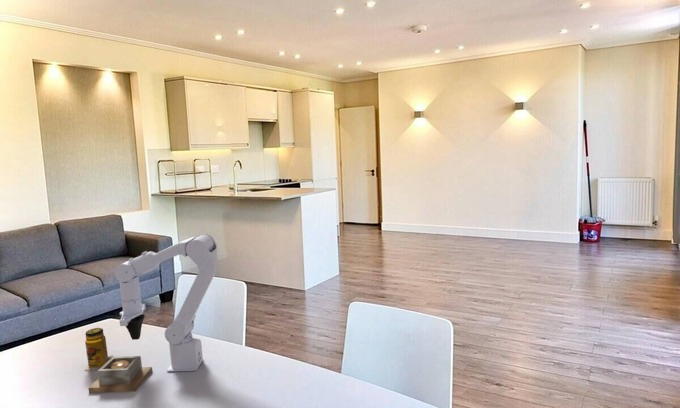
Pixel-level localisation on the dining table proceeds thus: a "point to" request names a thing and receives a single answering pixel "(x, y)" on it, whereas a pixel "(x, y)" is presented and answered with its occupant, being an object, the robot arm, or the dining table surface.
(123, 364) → the plunger
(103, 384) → the base
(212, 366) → the dining table surface
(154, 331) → the dining table surface
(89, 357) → the condiment
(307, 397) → the dining table surface
